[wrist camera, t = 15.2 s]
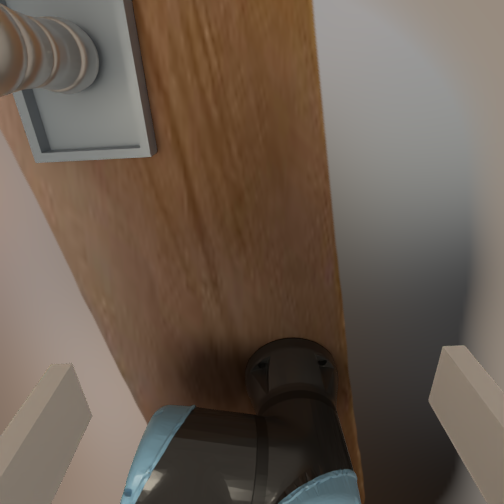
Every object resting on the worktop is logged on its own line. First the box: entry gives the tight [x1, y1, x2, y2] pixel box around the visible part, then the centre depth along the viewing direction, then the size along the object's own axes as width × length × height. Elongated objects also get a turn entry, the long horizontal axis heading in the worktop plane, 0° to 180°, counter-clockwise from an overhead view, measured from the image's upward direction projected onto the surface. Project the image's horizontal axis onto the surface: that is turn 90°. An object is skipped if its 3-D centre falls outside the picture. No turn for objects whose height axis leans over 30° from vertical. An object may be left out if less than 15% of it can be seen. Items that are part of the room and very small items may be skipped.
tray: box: [0, 0, 157, 163], centre depth 35 cm, size 20×13×3 cm, turn 3°
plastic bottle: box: [0, 3, 99, 97], centre depth 26 cm, size 6×7×20 cm
